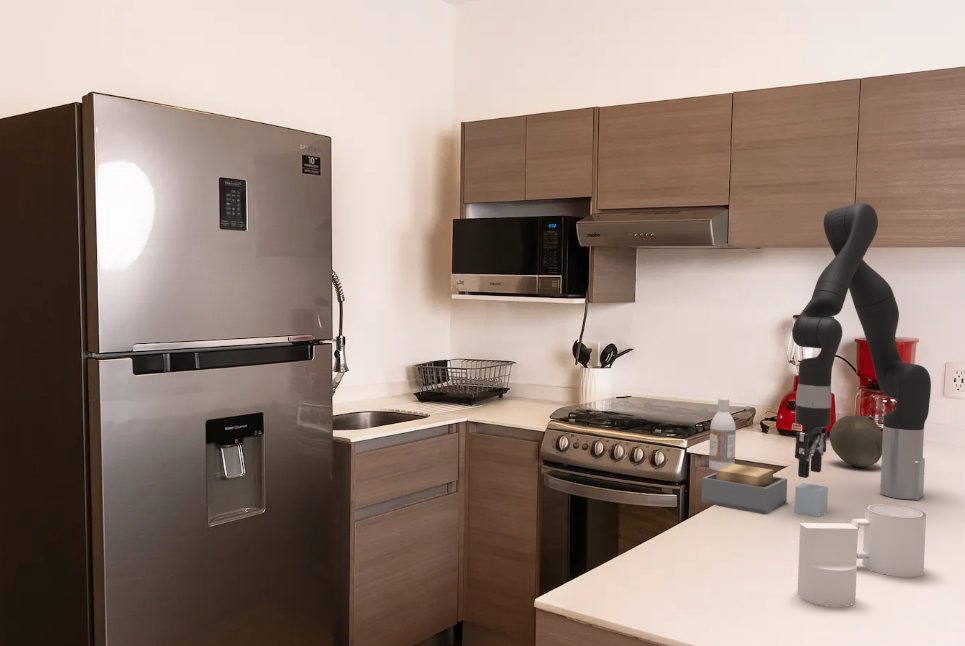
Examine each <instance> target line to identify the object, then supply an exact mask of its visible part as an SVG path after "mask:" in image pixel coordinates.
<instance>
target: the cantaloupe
mask: <svg viewBox="0 0 965 646" xmlns="http://www.w3.org/2000/svg"><path fill="white" fill-rule="evenodd" d="M881 430H882V429H881V428H880V427H879V425H878V424H877V423H876V422H875V420H873V419H871V418H870V417H867V416H864V415H845V416H843V417H841V418H839V419H838V420H837V421H835V422H834V423H833V425H832V427H831V429H830V431H829V442H830V446H831V449H832V450H833V451H834V453H835V454H836V455H837V457H838V458H840V459H841V460H842V461H843V462H845V463H846V464H848V465H850V466H852V467H856V468H861V469H862V468H864V469H865V468H867V467H870V466H872V465H875V464H877V463H878V462H879V461H880V459H882V439H883V431H881Z"/></svg>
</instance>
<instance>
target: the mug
mask: <svg viewBox="0 0 965 646" xmlns="http://www.w3.org/2000/svg"><path fill="white" fill-rule="evenodd" d="M850 524H852V525H854V526H856V527H857V528H858V531H859V530H860V528H861V526H863V539H862V540H863V545H862V547H863V548H862V551H857V560H858V559H862V565H864V566H865V569H867V568H868V569H867V570H869V569H870V571H871V570H872V571H871V572H874V571H875V573H877V572H878V573H877V574H880V573H881V574H880V575H884V574H886V575H885V576H889V575H891V576H890V577H897V578H898V577H899V578H916V577H920V576H922V575H923V574H924V570H925V568H924V567H925V553H926V552H925V549H926V548H925V546H926V527H927V525H926V524H927V514H926V513H925V512H924V511H922V510H920V509H917V508H914V507H909V506H907V505H906V506H905V505H899V504H891V503H873V504H867V505H865V507H864V518H852V520H851V522H850ZM864 566H863V567H864Z"/></svg>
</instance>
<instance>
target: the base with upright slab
mask: <svg viewBox="0 0 965 646" xmlns="http://www.w3.org/2000/svg"><path fill="white" fill-rule="evenodd" d="M858 537H859V530H858V528H857V527H856V526H854V525H852V524H851V523H842V522H840V523H838V522H837V523H835V522H832V523H831V522H829V523H828V522H825V523H823V522H817V523H816V522H800V523H799V545H798V546H799V547H798V549H799V551H798V566H797V567H798V569H797V570H798V573H797V595H798V596H800V597H799V598H801V597H802V598H803V599H802V598H801V599H802V600H804V599H805V601H806V600H807V602H808V601H810V602H809V603H811V602H813V604H814V603H816V604H815V605H818V604H821V605H820V606H823V605H828V606H827V607H830V606H846V607H848V606H847V605H851V604H853V605H854V604H855V603H856V594H857V593H856V592H857V569H858V565H857V563H858V562H857V561H858V559H857V552H858V539H859V538H858ZM851 606H852V605H851Z"/></svg>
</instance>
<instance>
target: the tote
mask: <svg viewBox="0 0 965 646" xmlns="http://www.w3.org/2000/svg"><path fill="white" fill-rule="evenodd" d="M716 473H717V471H716V472H713V473H710V474H708V475H707V476H704V477H702V478H701V496H700V497H701V498H700V499H701V501H700V502H701V503H704V504H710V505H716V506H720V507H726V508H732V509H737V510H742V511H747V512H751V513H758V514H764V515H767V514H769V513H770V512H772V511H774V510H776V509H778V508H779V507H782V506H783V505H785V504H787V502H788V501H787V497H788V496H787V495H788V478H787V477H786V478H785V477H777V476H773V484H771V485H769V486H767V487H765V488H764V487H758V486H752V485H746V484H740V483H734V482H728V481H722V480H716Z"/></svg>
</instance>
